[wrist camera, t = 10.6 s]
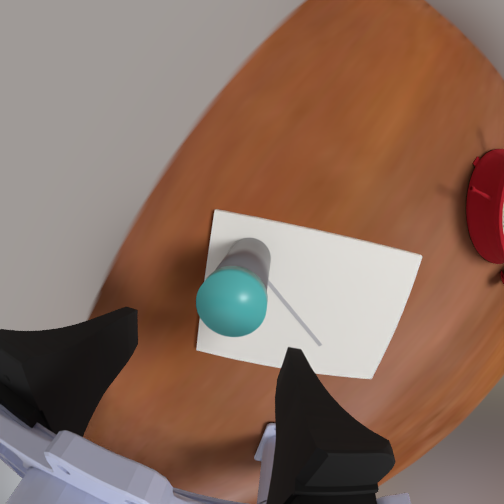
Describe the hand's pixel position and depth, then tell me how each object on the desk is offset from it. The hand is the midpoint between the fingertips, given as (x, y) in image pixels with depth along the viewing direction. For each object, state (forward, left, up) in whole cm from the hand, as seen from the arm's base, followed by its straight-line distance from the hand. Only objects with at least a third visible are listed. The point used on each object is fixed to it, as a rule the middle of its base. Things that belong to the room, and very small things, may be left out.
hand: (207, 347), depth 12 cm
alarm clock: (-24, -10, -10) cm, 28 cm away
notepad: (-6, +1, -9) cm, 11 cm away
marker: (-1, -2, -9) cm, 9 cm away
